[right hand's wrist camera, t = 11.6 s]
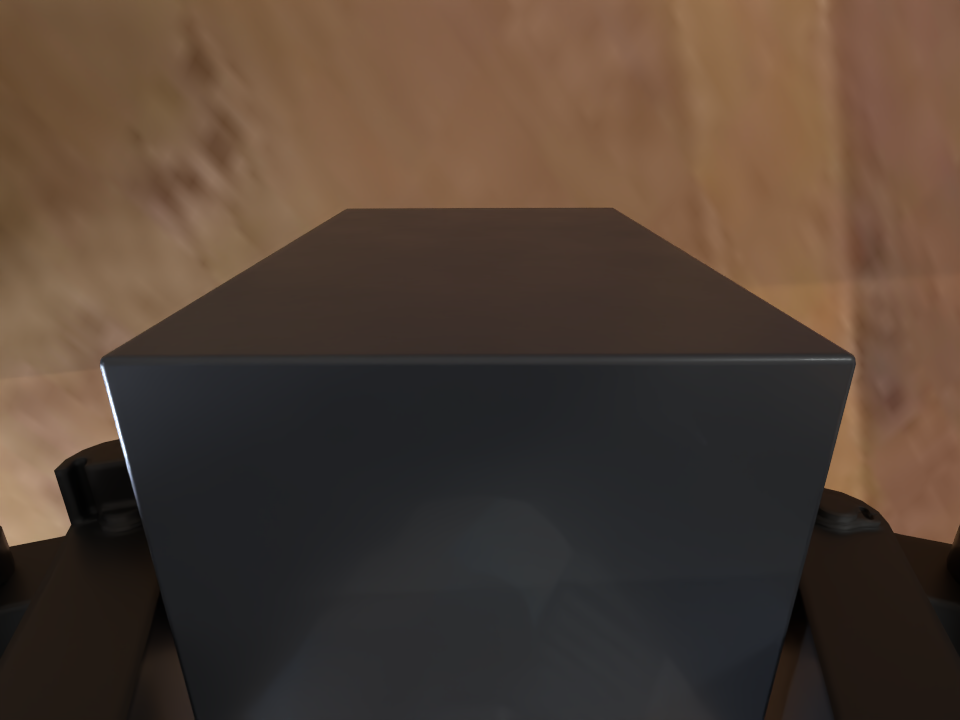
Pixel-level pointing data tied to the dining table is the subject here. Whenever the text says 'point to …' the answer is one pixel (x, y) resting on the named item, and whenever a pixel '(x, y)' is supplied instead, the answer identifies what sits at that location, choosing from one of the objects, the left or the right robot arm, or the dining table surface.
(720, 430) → the slate beam
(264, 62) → the dining table surface
